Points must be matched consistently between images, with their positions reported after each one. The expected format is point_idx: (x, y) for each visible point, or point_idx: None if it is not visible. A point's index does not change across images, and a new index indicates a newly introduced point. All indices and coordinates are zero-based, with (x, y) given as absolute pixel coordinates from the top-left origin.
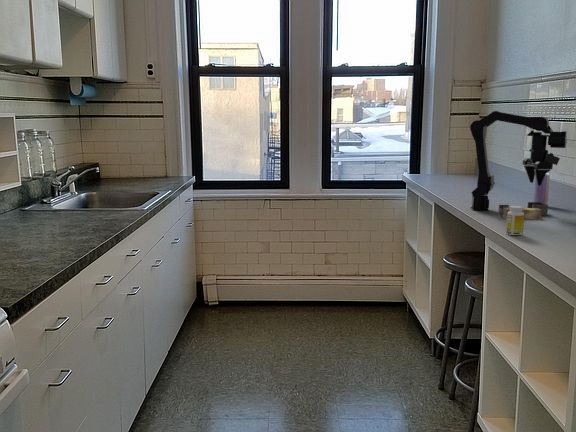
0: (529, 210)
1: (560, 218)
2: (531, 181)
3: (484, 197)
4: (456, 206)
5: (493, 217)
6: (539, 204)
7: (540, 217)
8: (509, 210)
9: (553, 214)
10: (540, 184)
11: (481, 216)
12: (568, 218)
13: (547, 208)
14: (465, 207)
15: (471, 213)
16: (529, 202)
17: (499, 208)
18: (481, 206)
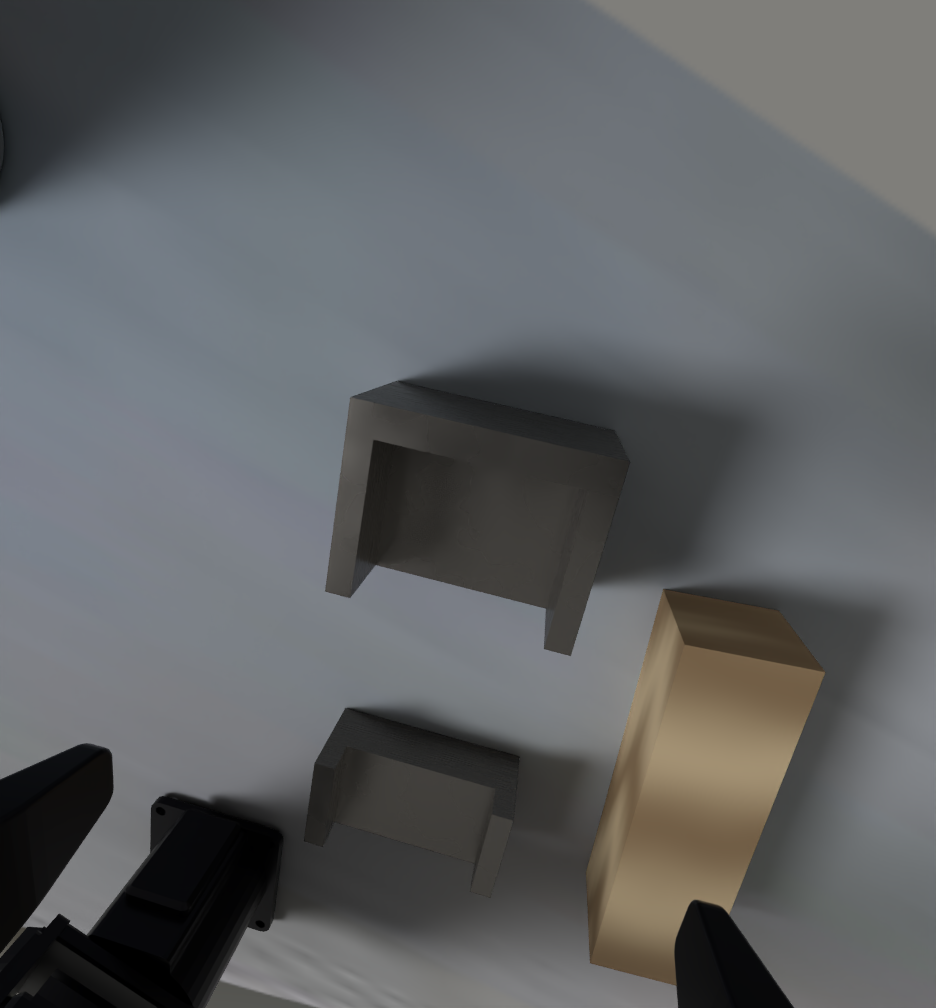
0: (771, 791)
1: (836, 366)
2: (93, 803)
3: (194, 987)
4: (84, 929)
5: None
6: (382, 442)
7: (782, 620)
8: None
9: (548, 297)
10: (735, 946)
11: (535, 997)
12: (873, 250)
13: (622, 451)
14: None
15: (395, 990)
16: (353, 581)
17: (345, 817)
18: (253, 909)
